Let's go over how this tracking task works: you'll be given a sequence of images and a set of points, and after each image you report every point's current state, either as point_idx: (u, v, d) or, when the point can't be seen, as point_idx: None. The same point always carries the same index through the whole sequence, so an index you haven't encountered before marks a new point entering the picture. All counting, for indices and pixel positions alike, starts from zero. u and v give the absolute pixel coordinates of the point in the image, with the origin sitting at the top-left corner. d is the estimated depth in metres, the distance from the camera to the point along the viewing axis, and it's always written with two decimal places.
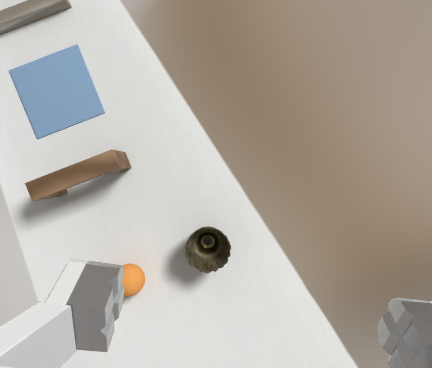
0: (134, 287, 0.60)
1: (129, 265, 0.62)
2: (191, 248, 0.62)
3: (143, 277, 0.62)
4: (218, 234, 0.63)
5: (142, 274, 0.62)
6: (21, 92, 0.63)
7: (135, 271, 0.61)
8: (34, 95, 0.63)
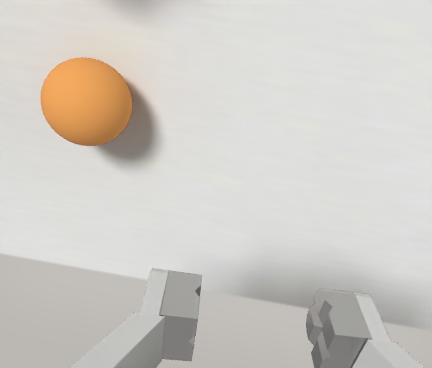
0: (92, 101, 0.20)
1: None
2: None
3: (90, 63, 0.21)
4: None
5: (81, 61, 0.21)
6: None
7: (57, 74, 0.20)
8: None
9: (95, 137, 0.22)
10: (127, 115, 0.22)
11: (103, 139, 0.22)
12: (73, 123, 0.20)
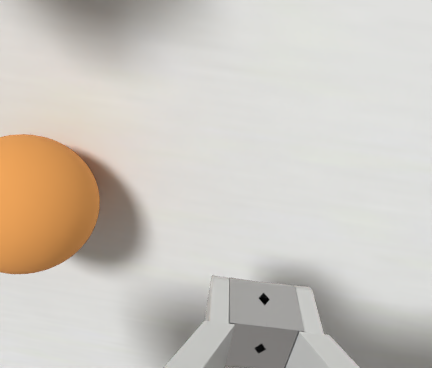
0: (18, 219, 0.12)
1: None
2: None
3: (22, 149, 0.12)
4: None
5: (6, 146, 0.12)
6: None
7: None
8: None
9: (32, 268, 0.13)
10: (88, 225, 0.14)
11: (47, 267, 0.13)
12: None
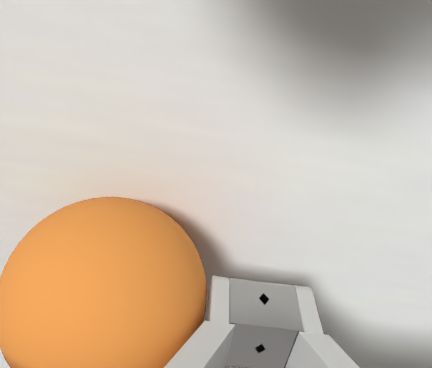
0: (17, 330, 0.07)
1: None
2: None
3: (95, 231, 0.08)
4: None
5: (88, 217, 0.08)
6: None
7: (38, 224, 0.09)
8: None
9: None
10: None
11: None
12: None
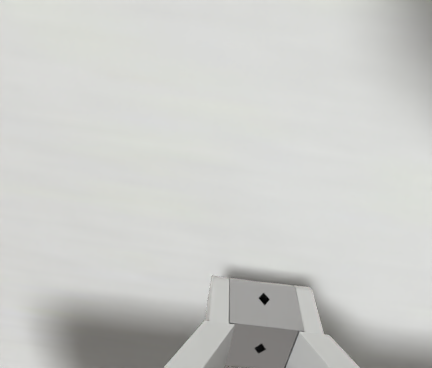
0: None
1: None
2: None
3: None
4: None
5: None
6: None
7: None
8: None
9: None
10: None
11: None
12: None
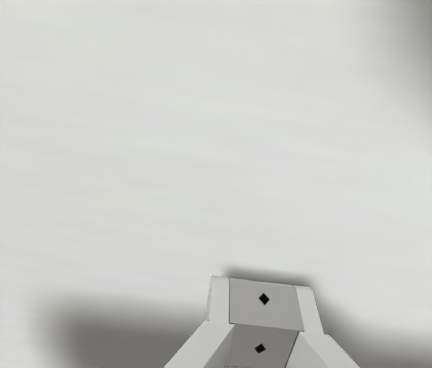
0: None
1: None
2: None
3: None
4: None
5: None
6: None
7: None
8: None
9: None
10: None
11: None
12: None
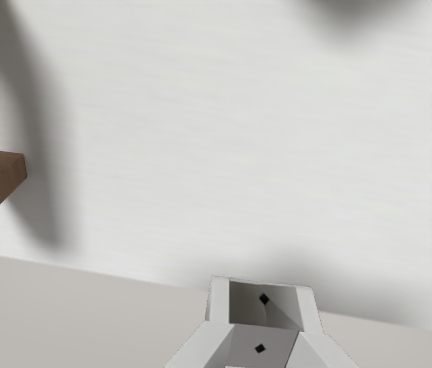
0: None
1: None
2: None
3: None
4: None
5: None
6: None
7: None
8: None
9: None
10: None
11: None
12: None
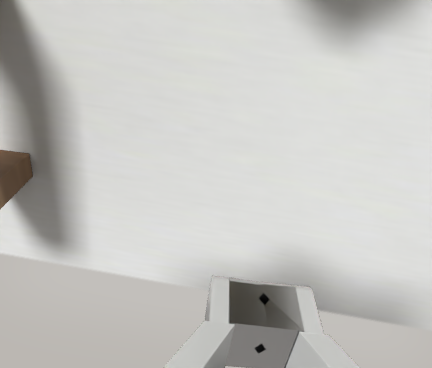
0: None
1: None
2: None
3: None
4: None
5: None
6: None
7: None
8: None
9: None
10: None
11: None
12: None
